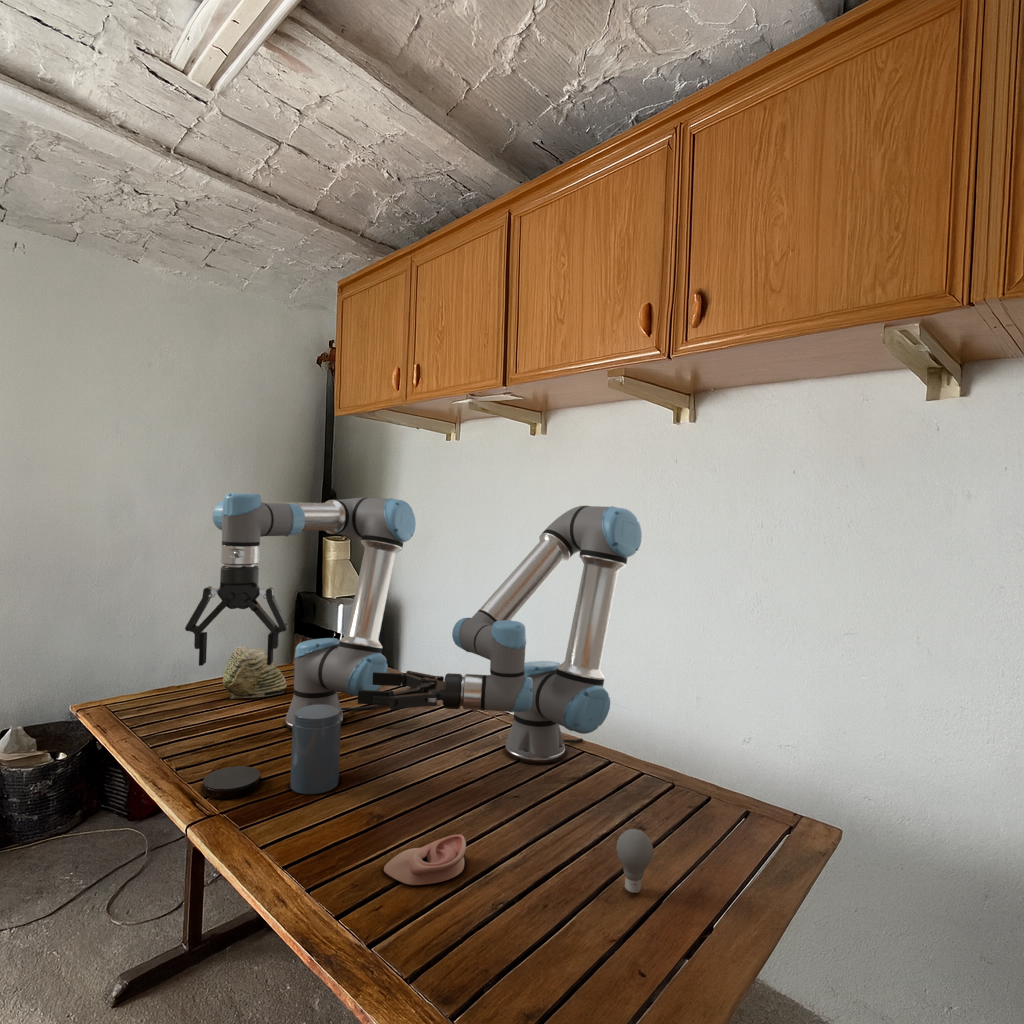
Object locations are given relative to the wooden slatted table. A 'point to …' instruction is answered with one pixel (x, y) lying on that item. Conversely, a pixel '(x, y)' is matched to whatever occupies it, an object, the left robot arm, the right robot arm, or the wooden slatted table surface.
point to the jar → (315, 749)
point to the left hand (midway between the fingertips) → (236, 663)
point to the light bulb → (634, 857)
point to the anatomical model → (429, 862)
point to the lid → (231, 782)
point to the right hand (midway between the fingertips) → (365, 687)
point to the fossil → (252, 675)
